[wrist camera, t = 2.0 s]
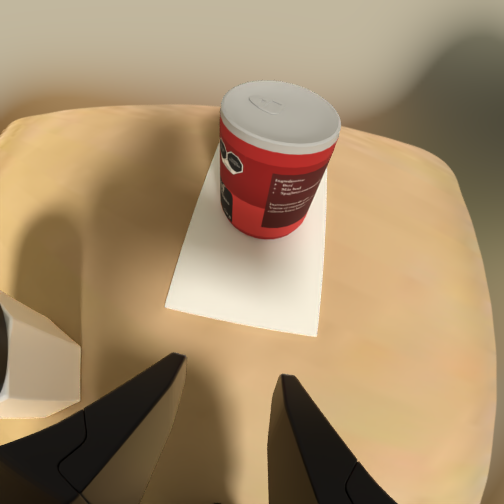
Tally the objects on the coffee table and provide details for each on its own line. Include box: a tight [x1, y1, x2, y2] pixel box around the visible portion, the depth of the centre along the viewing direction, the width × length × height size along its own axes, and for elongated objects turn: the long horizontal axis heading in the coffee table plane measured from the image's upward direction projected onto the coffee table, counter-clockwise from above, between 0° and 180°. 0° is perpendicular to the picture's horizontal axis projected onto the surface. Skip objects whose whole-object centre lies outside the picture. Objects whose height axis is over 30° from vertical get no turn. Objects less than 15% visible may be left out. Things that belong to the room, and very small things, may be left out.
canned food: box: [220, 80, 341, 239], centre depth 21 cm, size 8×8×11 cm
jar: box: [0, 290, 81, 419], centre depth 13 cm, size 9×8×12 cm
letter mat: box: [165, 142, 327, 337], centre depth 26 cm, size 21×12×1 cm, turn 170°
